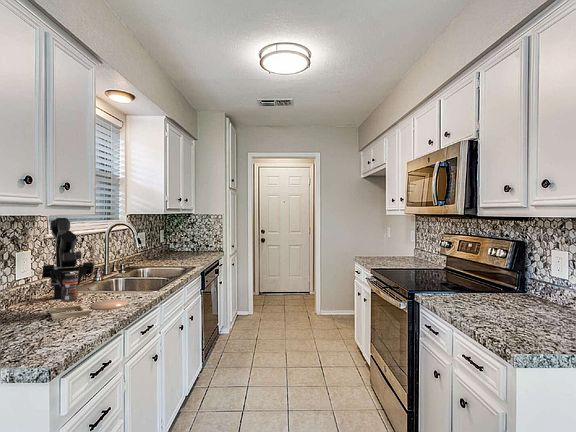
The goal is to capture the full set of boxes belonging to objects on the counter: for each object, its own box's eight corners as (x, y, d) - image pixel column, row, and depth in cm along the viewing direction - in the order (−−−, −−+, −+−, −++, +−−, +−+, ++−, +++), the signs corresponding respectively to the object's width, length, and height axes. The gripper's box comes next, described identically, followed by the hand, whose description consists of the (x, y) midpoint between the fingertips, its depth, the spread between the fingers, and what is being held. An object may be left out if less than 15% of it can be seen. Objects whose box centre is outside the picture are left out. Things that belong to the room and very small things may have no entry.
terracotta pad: (97, 301, 169) (97, 299, 169) (131, 300, 172) (131, 298, 172) (86, 310, 154) (86, 308, 154) (123, 309, 157) (123, 306, 157)
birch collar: (49, 312, 151) (49, 308, 151) (84, 307, 159) (84, 304, 159) (52, 319, 140) (52, 316, 140) (89, 314, 149) (89, 310, 149)
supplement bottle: (69, 303, 146) (70, 275, 146) (57, 301, 147) (58, 275, 147) (81, 299, 152) (81, 273, 152) (69, 298, 153) (69, 272, 153)
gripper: (43, 246, 147) (45, 276, 138) (93, 244, 158) (98, 272, 150) (41, 262, 153) (43, 292, 144) (89, 259, 165) (94, 287, 156)
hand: (70, 285), depth 149 cm, fingers closed on supplement bottle, 6 cm apart
